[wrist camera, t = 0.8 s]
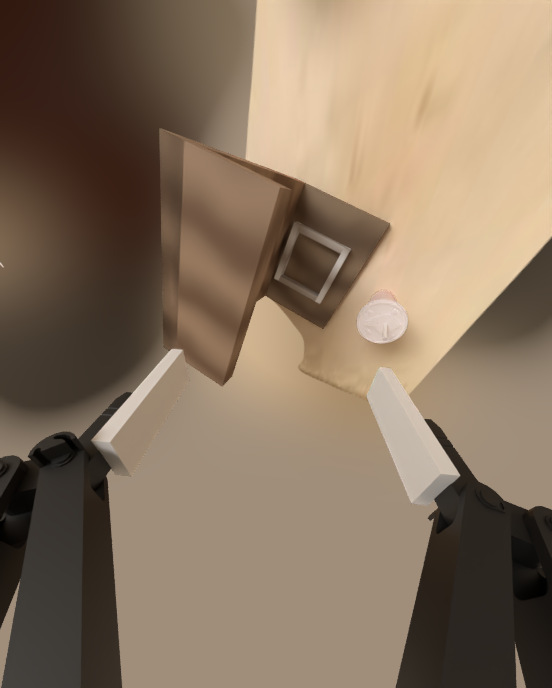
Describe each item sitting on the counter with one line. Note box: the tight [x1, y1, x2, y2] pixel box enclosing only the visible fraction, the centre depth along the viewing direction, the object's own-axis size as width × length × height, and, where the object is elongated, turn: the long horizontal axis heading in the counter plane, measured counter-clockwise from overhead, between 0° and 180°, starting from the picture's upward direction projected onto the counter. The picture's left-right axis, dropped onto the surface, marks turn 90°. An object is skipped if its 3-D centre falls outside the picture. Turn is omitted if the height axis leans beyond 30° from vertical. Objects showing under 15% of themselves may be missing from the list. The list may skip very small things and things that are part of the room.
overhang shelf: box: [160, 128, 390, 386], centre depth 28 cm, size 20×16×25 cm
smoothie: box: [357, 290, 408, 344], centre depth 30 cm, size 6×6×14 cm
